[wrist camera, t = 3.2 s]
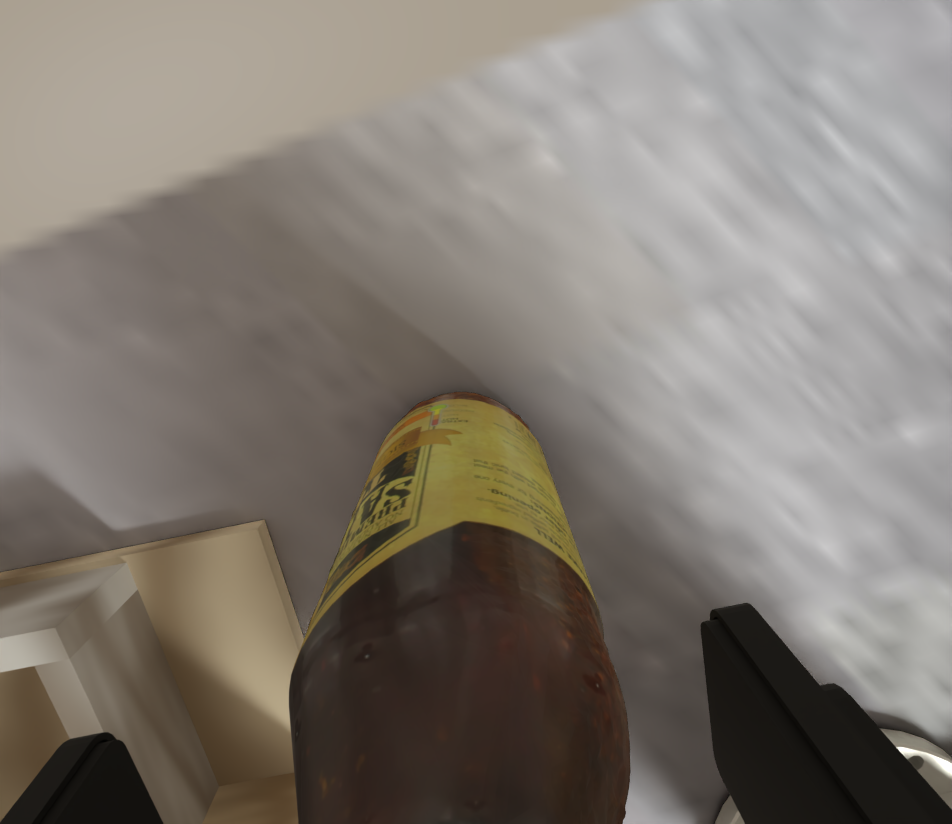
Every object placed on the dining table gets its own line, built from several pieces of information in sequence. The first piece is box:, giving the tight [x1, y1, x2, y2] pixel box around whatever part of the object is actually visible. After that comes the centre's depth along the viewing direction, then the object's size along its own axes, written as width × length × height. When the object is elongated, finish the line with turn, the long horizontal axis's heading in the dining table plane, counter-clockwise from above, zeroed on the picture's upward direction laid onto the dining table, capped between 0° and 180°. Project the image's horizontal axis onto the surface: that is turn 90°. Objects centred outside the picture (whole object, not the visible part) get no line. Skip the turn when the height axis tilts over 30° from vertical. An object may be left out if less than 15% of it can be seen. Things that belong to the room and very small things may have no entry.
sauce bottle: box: [289, 392, 630, 824], centre depth 13 cm, size 6×6×20 cm
